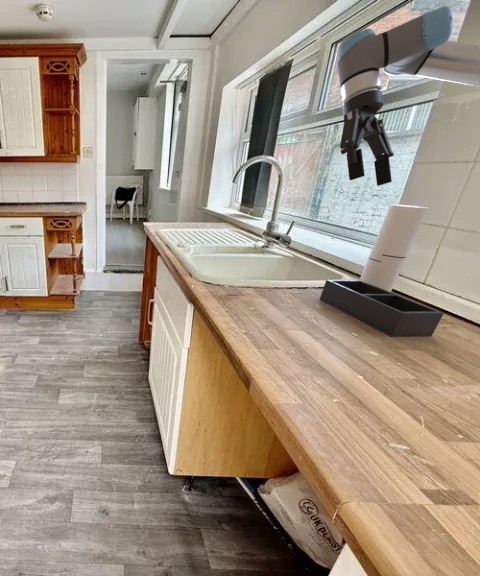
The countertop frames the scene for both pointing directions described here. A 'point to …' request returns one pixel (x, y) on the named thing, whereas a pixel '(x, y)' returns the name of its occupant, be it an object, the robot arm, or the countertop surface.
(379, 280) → the cylindrical container
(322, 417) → the countertop surface
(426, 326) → the divided tray
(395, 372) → the countertop surface
